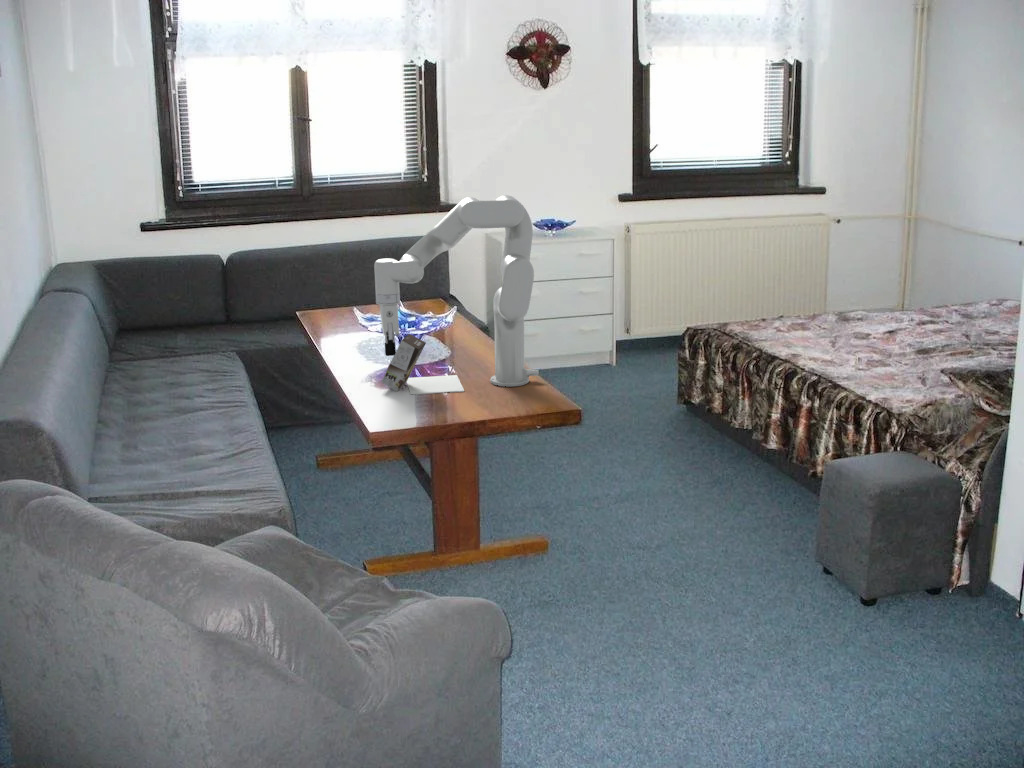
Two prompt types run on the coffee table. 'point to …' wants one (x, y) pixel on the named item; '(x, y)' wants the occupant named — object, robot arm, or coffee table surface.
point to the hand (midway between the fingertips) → (390, 354)
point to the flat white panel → (434, 384)
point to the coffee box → (403, 362)
